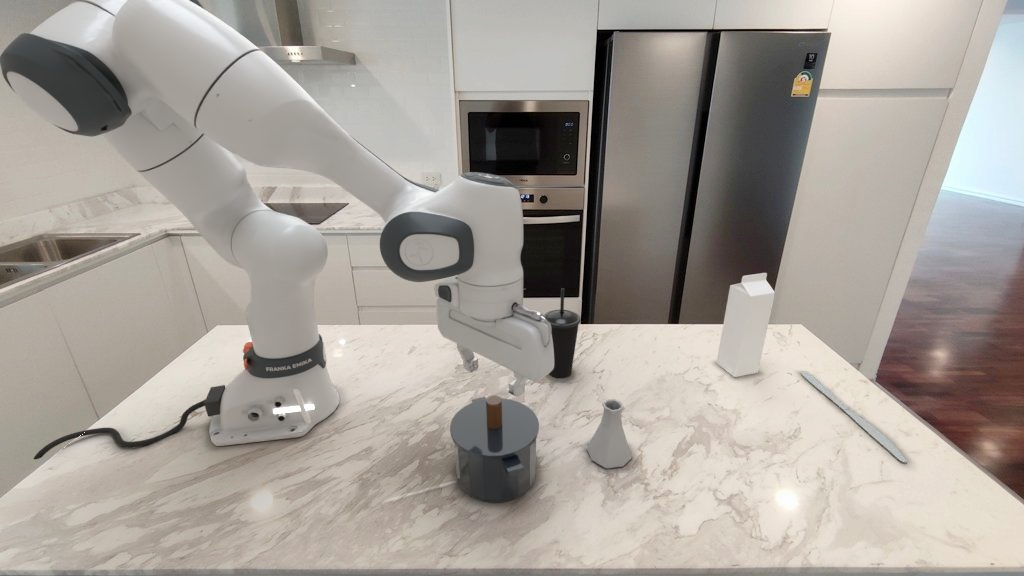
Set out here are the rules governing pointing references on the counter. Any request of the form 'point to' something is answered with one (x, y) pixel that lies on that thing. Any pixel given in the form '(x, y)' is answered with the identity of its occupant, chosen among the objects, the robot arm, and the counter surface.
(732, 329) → the milk
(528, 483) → the pot
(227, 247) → the robot arm
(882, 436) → the butter knife
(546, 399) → the counter surface
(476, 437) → the lid
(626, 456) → the flask
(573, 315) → the drinking cup
